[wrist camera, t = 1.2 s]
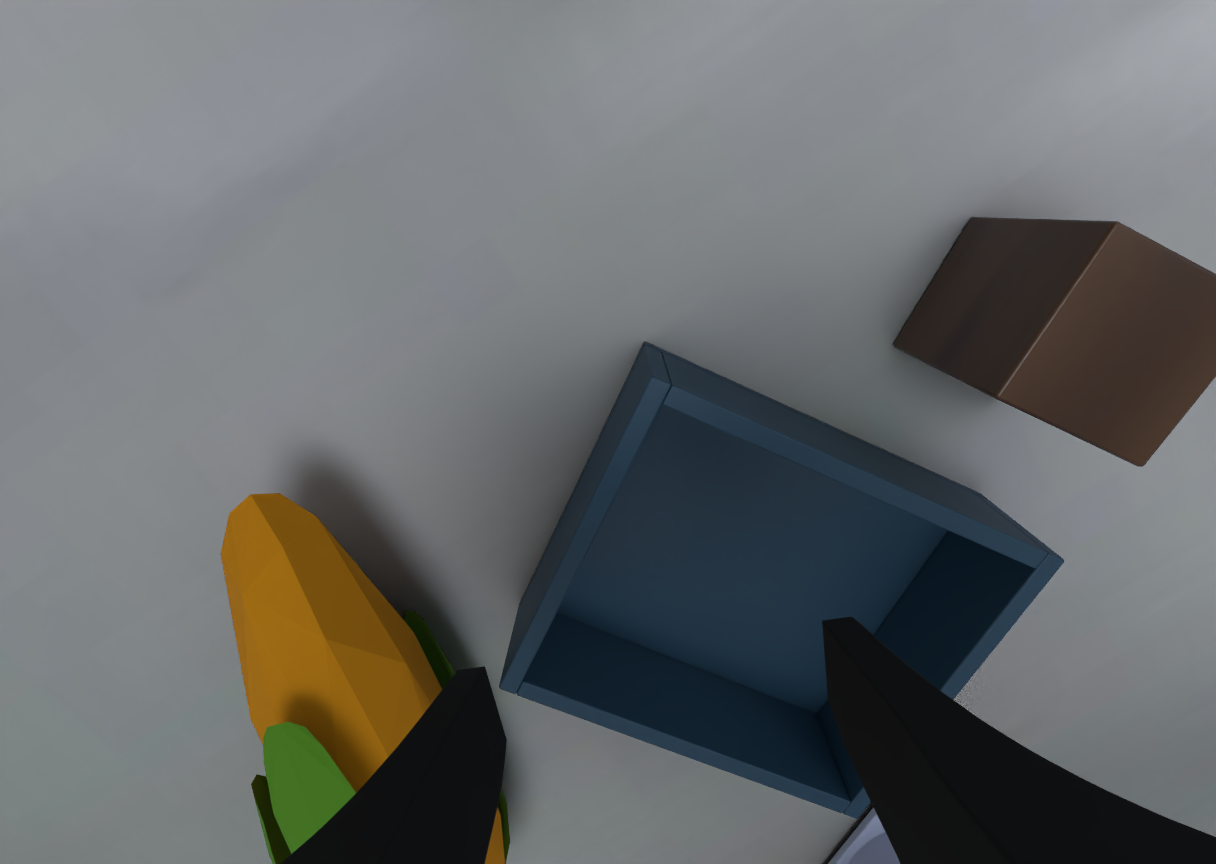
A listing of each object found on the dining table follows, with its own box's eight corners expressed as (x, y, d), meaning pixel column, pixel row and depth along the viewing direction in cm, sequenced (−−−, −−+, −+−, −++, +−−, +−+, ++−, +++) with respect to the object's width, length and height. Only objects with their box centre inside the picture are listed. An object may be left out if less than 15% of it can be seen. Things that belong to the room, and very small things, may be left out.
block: (1088, 276, 20) (1276, 304, 14) (1003, 398, 21) (1143, 469, 16) (970, 215, 19) (1117, 220, 14) (890, 345, 21) (994, 398, 15)
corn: (326, 1084, 22) (2, 605, 15) (387, 868, 29) (186, 480, 22) (534, 1037, 21) (297, 529, 15) (543, 831, 29) (386, 428, 22)
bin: (981, 493, 22) (1066, 560, 18) (818, 719, 26) (857, 819, 22) (644, 341, 21) (651, 375, 16) (519, 604, 24) (498, 689, 20)
